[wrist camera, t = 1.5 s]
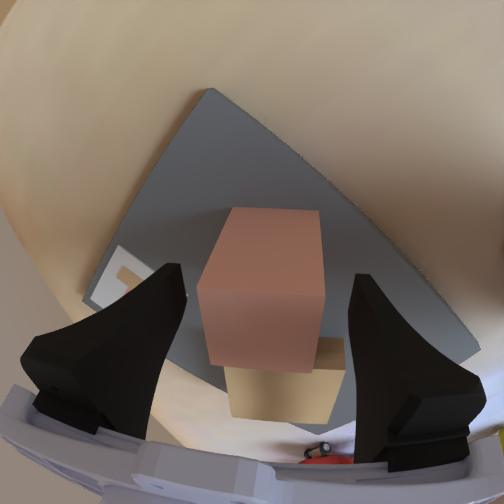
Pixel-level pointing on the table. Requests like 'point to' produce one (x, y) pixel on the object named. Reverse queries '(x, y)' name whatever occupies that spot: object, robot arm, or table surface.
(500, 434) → the lemon
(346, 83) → the table surface
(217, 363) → the pillar
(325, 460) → the toy airplane
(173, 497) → the robot arm
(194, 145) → the board
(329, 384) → the slab
